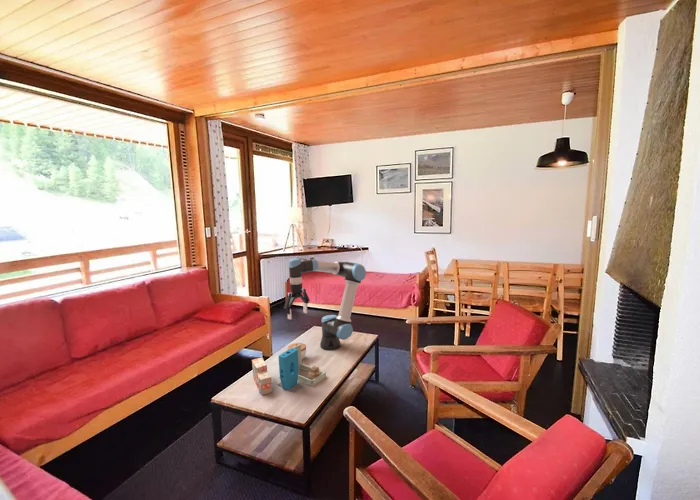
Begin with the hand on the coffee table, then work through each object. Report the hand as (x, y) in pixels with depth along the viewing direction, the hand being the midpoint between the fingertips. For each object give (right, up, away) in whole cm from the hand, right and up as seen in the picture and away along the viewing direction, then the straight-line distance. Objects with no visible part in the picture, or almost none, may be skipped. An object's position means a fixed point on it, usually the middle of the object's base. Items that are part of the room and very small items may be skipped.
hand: (297, 315), depth 204 cm
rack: (+6, -36, -7) cm, 37 cm away
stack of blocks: (-18, -38, -15) cm, 45 cm away
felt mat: (-2, -37, -17) cm, 41 cm away
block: (-2, -37, -17) cm, 41 cm away
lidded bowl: (-3, -33, +16) cm, 37 cm away
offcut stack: (+12, -36, -11) cm, 40 cm away
